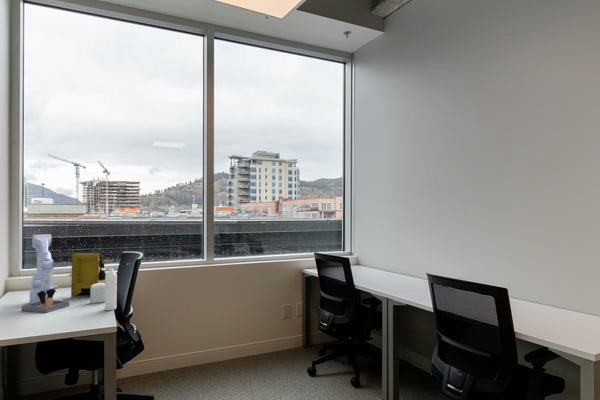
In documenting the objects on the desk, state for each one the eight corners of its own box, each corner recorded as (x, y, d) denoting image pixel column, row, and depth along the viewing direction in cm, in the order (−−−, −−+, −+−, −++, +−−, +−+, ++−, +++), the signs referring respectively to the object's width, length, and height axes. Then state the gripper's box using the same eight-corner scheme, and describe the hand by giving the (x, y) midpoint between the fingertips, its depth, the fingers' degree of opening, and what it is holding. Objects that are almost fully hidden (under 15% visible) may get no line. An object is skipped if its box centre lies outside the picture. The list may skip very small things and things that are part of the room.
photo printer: (107, 300, 248) (107, 281, 248) (108, 301, 244) (108, 282, 245) (89, 302, 242) (90, 283, 242) (90, 304, 239) (90, 284, 239)
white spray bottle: (115, 307, 231) (116, 266, 232) (117, 309, 226) (118, 268, 226) (99, 309, 226) (100, 267, 227) (101, 311, 221) (102, 269, 221)
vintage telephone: (118, 292, 272) (119, 251, 273) (109, 297, 258) (110, 253, 259) (74, 292, 271) (75, 251, 272) (63, 297, 257) (64, 253, 258)
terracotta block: (40, 307, 226) (40, 299, 226) (46, 305, 230) (46, 297, 230) (46, 307, 225) (47, 299, 225) (52, 306, 229) (53, 298, 229)
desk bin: (21, 310, 222) (21, 305, 222) (45, 304, 237) (45, 299, 237) (46, 312, 217) (46, 307, 217) (69, 306, 233) (69, 301, 233)
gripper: (41, 282, 220) (40, 306, 219) (62, 278, 234) (61, 300, 233) (31, 282, 221) (31, 305, 221) (53, 278, 236) (52, 299, 235)
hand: (46, 302), depth 227 cm, fingers closed on terracotta block, 4 cm apart
